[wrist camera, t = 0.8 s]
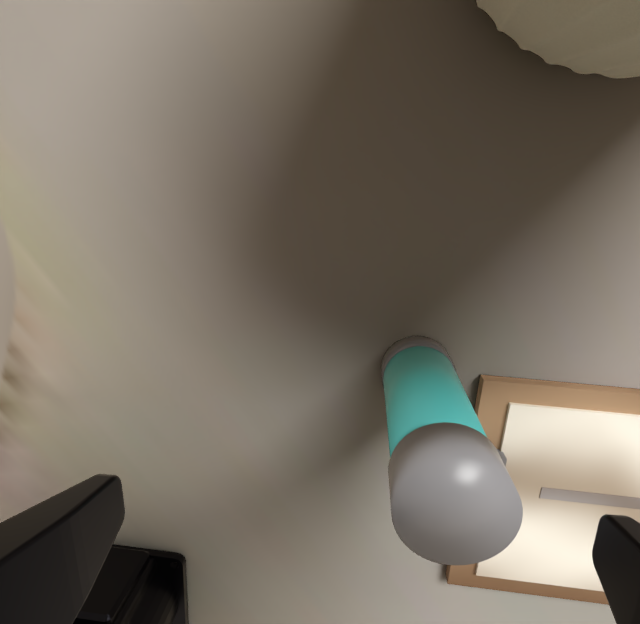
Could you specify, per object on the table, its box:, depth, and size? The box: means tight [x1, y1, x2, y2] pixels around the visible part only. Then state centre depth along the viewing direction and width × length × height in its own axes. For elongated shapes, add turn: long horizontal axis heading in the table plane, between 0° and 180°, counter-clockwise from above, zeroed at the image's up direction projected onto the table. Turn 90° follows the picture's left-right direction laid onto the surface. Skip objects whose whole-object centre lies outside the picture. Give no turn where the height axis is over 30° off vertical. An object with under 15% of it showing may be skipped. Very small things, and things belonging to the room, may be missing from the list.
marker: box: [381, 336, 523, 565], centre depth 16 cm, size 3×3×10 cm
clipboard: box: [446, 375, 640, 604], centre depth 21 cm, size 12×14×1 cm
